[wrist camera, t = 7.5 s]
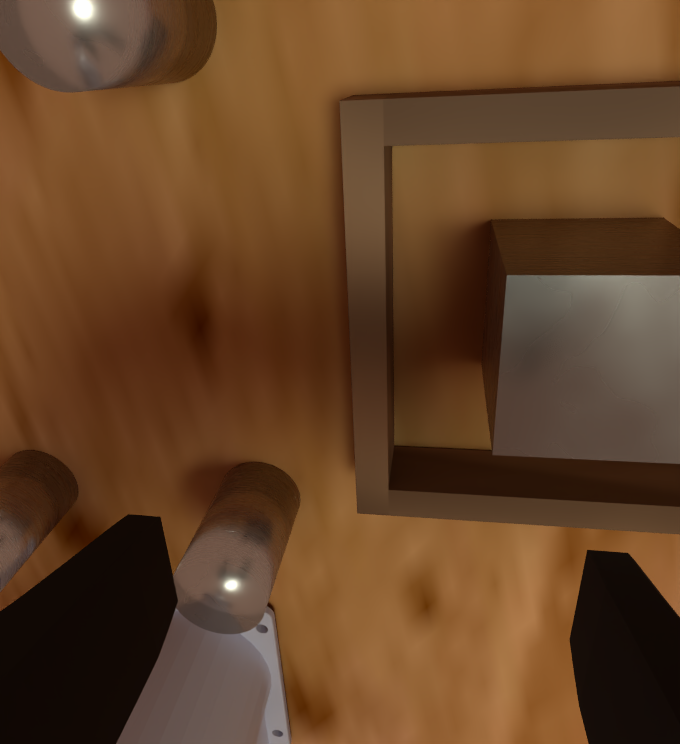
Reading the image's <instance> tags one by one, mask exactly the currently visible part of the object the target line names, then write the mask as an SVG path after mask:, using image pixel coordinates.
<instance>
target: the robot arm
mask: <svg viewBox="0 0 680 744" xmlns="http://www.w3.org/2000/svg"><path fill="white" fill-rule="evenodd" d="M177 603H178V598H177V593H176V588H175V583H174V579H173V574H172V569H171V565H170V560H169V555H168V550H167V546H166V541H165V536H164V532H163V527H162V522H161V518H160V517H155V516H142V515H129V514H128V515H127V516H125V517H124V518H123V519H121V520H120V521H119V522H117V523H116V524H115V525H113V526H112V527H111V528H109V529H108V530H107V531H105V532H104V533H103V534H101V535H100V536H99V537H98V538H96V539H95V540H94V541H93V542H91V543H90V544H89V545H87V546H86V547H85V548H84V549H82V550H81V551H80V552H78V553H77V554H76V555H75V556H73V557H72V558H71V559H70V560H68V561H67V562H66V563H64V564H63V565H62V566H61V567H59V568H58V569H57V570H55V571H54V572H53V573H51V574H50V575H49V576H47V577H46V578H45V579H44V580H42V581H41V582H40V583H38V584H37V585H36V586H34V587H33V588H32V589H30V590H29V591H28V592H27V593H25V594H24V595H23V596H21V597H20V598H19V599H17V600H16V601H14V602H13V603H12V604H10V605H9V606H7V607H6V608H5V609H3V610H2V611H0V744H291V733H290V726H289V718H288V711H287V704H286V696H285V689H284V681H283V674H282V667H281V659H280V652H279V644H278V637H277V630H276V622H275V615H274V612H273V611H272V610H271V609H270V608H269V607H266V610H265V613H264V616H263V618H262V620H261V622H260V623H259V624H258V625H257V626H256V627H255V628H253V629H251V630H249V631H247V632H244V633H239V634H220V633H215V632H211V631H208V630H205V629H203V628H200V627H198V626H196V625H195V624H193V623H191V622H190V621H189V620H187V619H186V618H185V617H184V616H183V615H182V614H181V613H180V612H179V611H178V610H177V609H176V606H177ZM570 646H571V653H572V661H573V668H574V675H575V682H576V688H577V695H578V701H579V707H580V711H581V715H582V719H583V723H584V727H585V731H586V735H587V739H588V743H589V744H680V617H679V616H678V615H677V613H676V612H675V611H674V610H673V608H672V607H671V606H670V605H669V603H668V602H667V601H666V600H665V598H664V597H663V596H662V595H661V593H660V592H659V591H658V590H657V588H656V587H655V586H654V585H653V583H652V582H651V581H650V579H649V578H648V577H647V576H646V574H645V573H644V572H643V570H642V569H641V568H640V567H639V565H638V564H637V563H636V562H635V560H634V559H633V558H632V557H631V556H630V555H629V554H628V553H620V552H607V551H594V550H587V554H586V559H585V564H584V570H583V575H582V580H581V585H580V590H579V595H578V600H577V605H576V610H575V615H574V620H573V625H572V630H571V635H570Z"/></svg>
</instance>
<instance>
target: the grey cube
mask: <svg viewBox="0 0 680 744" xmlns="http://www.w3.org/2000/svg"><path fill="white" fill-rule="evenodd" d="M481 365H482V373H483V381H484V390H485V398H486V406H487V414H488V423H489V431H490V439H491V448H492V455H502V456H523V457H544V458H565V459H586V460H607V461H628V462H649V463H670V464H680V229H679V228H677V227H676V226H675V225H673V224H672V223H670V222H669V221H668V220H666V219H665V218H586V219H499V220H491V226H490V241H489V257H488V272H487V287H486V302H485V318H484V333H483V348H482V363H481Z"/></svg>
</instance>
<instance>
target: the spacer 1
mask: <svg viewBox="0 0 680 744" xmlns="http://www.w3.org/2000/svg"><path fill="white" fill-rule="evenodd" d="M77 497H78V485H77V482H76V479H75V477H74V476H73V474H72V473H71V471H70V470H69V469H68V468H67V467H66V466H65V465H64V464H63V463H62V462H61V461H59V460H58V459H57V458H55V457H53V456H51V455H49V454H47V453H44V452H41V451H35V450H25V451H21V452H18V453H16V454H15V455H13V456H12V457H11V458H10V459H9V460H8V461H7V462H6V463H4V464H3V465H2V466H1V467H0V592H1V591H2V589H3V588H4V587H5V586H6V585H7V583H8V582H9V581H10V580H11V579H12V577H13V576H14V575H15V574H16V573H17V571H18V570H19V569H20V568H21V567H22V565H23V564H24V563H25V562H26V561H27V559H28V558H29V557H30V556H31V555H32V553H33V552H34V551H35V550H36V549H37V547H38V546H39V545H40V544H41V543H42V541H43V540H44V539H45V538H46V537H47V535H48V534H49V533H50V532H51V531H52V529H53V528H54V527H55V526H56V525H57V523H58V522H59V521H60V520H61V519H62V517H63V516H64V515H65V514H66V513H67V511H68V510H69V509H70V508H71V507H72V505H73V504H74V503H75V502H76V500H77Z"/></svg>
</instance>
